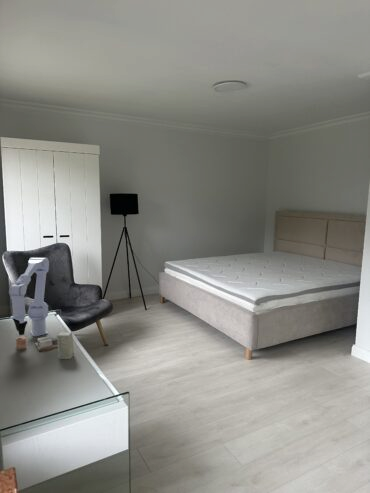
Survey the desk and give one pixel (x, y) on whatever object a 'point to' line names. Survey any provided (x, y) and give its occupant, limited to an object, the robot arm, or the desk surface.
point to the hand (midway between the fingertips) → (20, 332)
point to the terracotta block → (21, 342)
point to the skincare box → (65, 345)
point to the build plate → (46, 343)
